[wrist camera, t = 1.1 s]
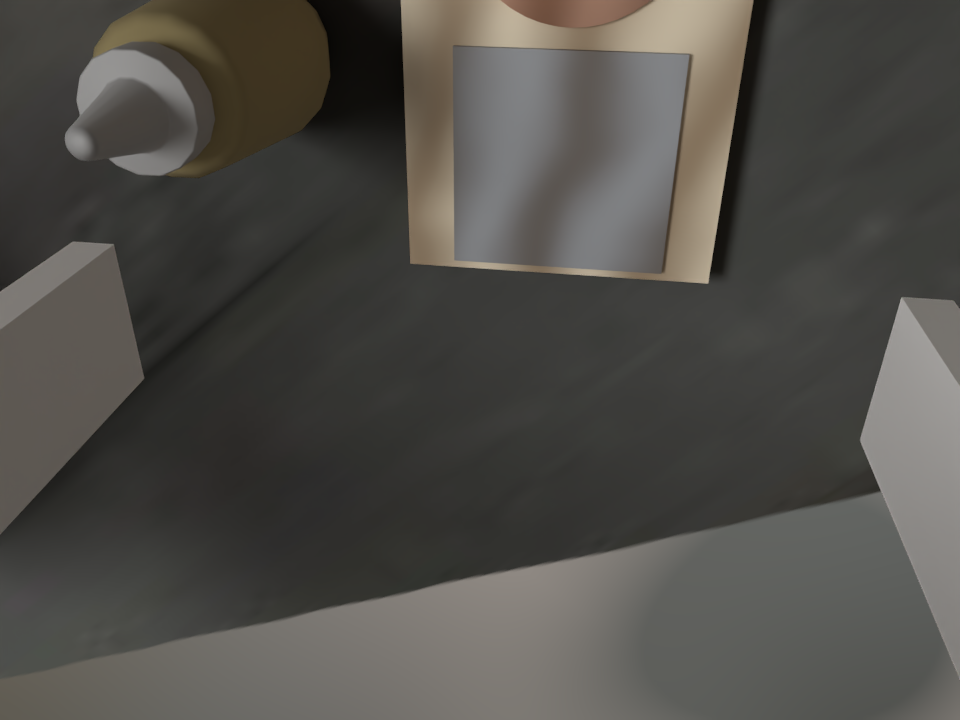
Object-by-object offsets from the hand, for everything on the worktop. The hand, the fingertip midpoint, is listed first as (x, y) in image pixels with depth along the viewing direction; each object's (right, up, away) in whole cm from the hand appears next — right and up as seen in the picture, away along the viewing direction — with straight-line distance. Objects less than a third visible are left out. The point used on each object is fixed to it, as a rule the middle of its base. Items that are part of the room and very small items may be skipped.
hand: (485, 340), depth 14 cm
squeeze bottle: (-10, +16, +29) cm, 34 cm away
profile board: (+4, +15, +26) cm, 31 cm away
